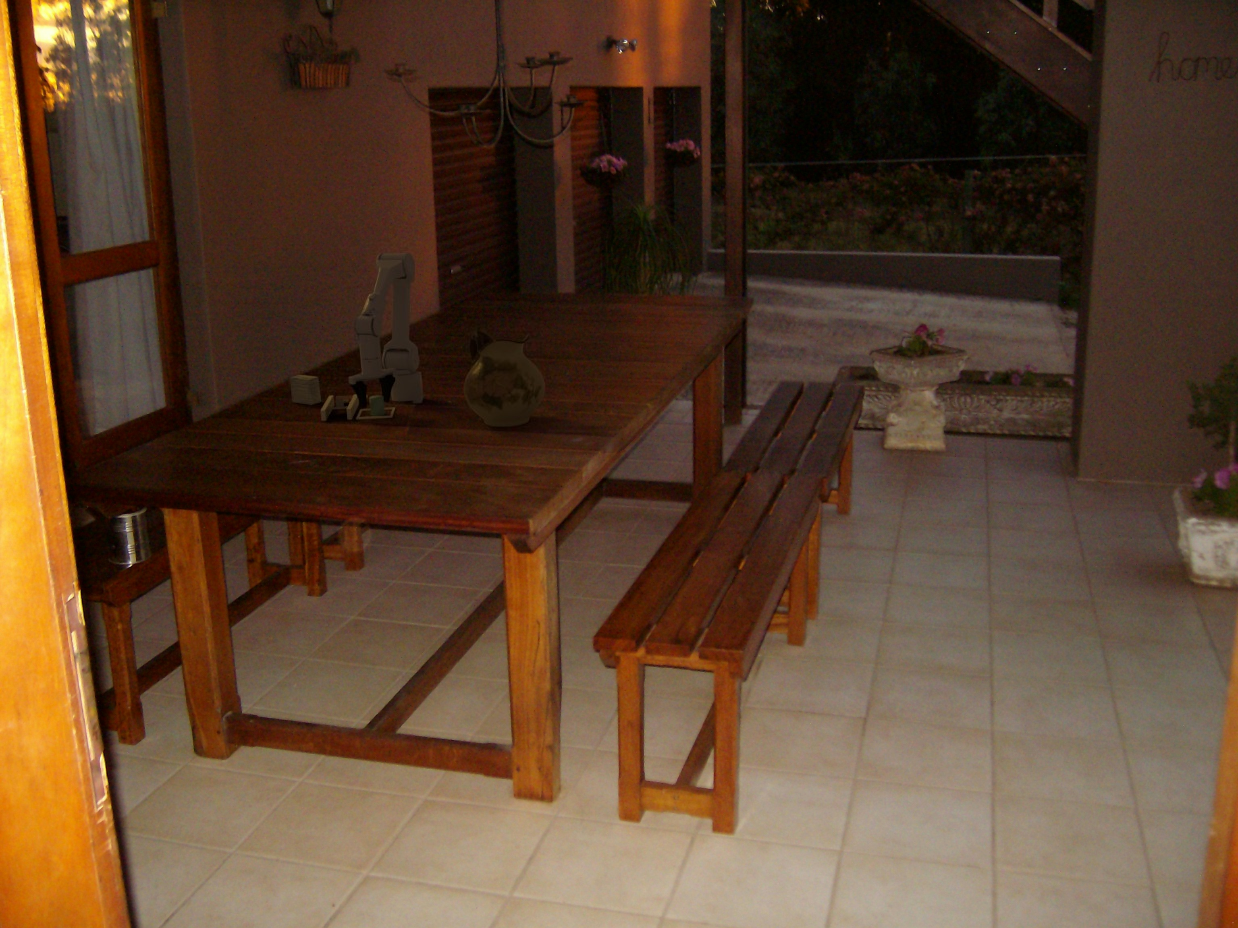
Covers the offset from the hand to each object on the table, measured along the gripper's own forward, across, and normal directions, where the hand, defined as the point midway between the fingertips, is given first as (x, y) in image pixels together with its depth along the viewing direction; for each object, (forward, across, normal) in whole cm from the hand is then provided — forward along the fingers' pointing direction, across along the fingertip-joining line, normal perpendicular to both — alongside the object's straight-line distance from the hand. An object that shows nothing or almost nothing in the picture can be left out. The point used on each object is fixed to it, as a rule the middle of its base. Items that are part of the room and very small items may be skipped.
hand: (375, 404), depth 352 cm
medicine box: (+4, +5, -29) cm, 30 cm away
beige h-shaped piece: (+4, +5, -10) cm, 12 cm away
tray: (+4, 0, 0) cm, 4 cm away
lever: (+2, +3, -10) cm, 11 cm away
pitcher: (+4, -20, +33) cm, 39 cm away
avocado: (+3, 0, +1) cm, 3 cm away
